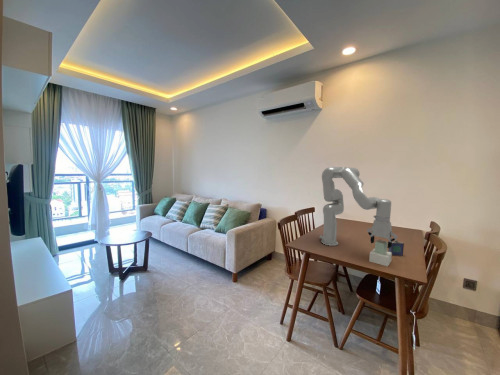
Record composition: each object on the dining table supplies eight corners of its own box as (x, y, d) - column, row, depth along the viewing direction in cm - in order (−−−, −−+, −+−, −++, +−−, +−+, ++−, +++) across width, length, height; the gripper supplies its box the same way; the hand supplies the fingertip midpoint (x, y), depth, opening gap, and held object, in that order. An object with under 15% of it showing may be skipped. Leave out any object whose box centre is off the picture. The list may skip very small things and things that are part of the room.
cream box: (369, 261, 134) (369, 252, 134) (373, 257, 141) (374, 248, 141) (387, 266, 127) (388, 257, 127) (391, 261, 134) (391, 252, 134)
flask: (389, 255, 143) (390, 240, 142) (387, 253, 146) (387, 238, 145) (403, 256, 142) (405, 240, 141) (401, 254, 145) (402, 239, 144)
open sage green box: (374, 252, 134) (375, 240, 134) (378, 250, 137) (379, 239, 137) (383, 254, 130) (384, 242, 130) (386, 252, 133) (387, 241, 133)
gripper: (365, 216, 136) (363, 242, 138) (396, 223, 123) (393, 251, 125) (370, 215, 141) (369, 239, 143) (401, 221, 127) (398, 248, 129)
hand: (380, 245), depth 134 cm, fingers open, 9 cm apart
